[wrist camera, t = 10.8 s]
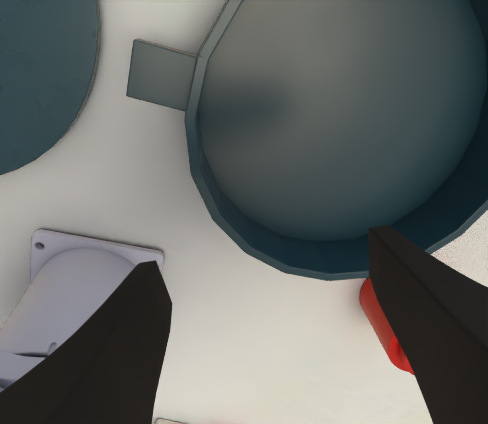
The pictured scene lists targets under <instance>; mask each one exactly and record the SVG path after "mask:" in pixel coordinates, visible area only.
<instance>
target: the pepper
mask: <svg viewBox="0 0 488 424" xmlns="http://www.w3.org/2000/svg"><path fill="white" fill-rule="evenodd" d="M360 303H361V306H362V308H363V310H364V312H365V314H366V316H367V318H368V319H369V321H370V323H371V325H372V327H373V329H374V331H375V333H376V335H377V336H378V338H379V340H380V342H381V344H382V346H383V348H384V350H385V351H386V353H387V355H388V357H389V359H390V361H391V362H392V363H393V364H394V365H395V366H396V367H397V368H399V369H401V370H404V371H407V372H410V373H411V374H413V375H414V372H413V370H412V368H411V366H410V364H409V362H408V360H407V358H406V356H405V354H404V352H403V350H402V348H401V346H400V344H399V342H398V340H397V338H396V336H395V334H394V332H393V330H392V328H391V327H390V325H389V323H388V321H387V319H386V317H385V315H384V313H383V311H382V309H381V307H380V305H379V303H378V300H377V297H376V295H375V292H374V289H373V286H372V284H371V281H370V278H368V279H367V280H366V281H365V283H364V285H363V286H362V289H361V292H360Z"/></svg>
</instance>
